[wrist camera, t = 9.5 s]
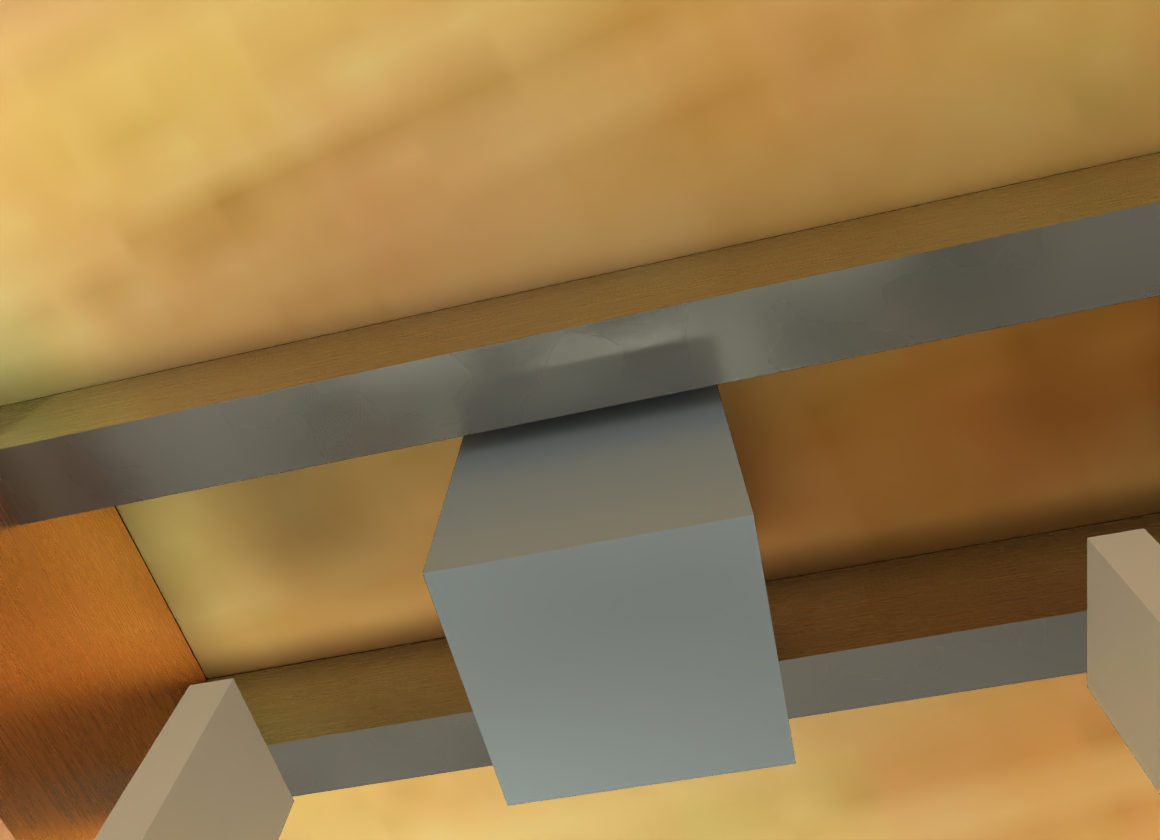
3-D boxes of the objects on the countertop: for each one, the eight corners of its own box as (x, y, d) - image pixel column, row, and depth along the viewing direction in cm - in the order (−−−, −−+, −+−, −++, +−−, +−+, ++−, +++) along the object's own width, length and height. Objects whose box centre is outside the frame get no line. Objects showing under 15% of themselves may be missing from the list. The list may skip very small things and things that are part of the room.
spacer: (706, 348, 17) (753, 514, 12) (741, 544, 19) (795, 763, 14) (476, 394, 18) (422, 573, 13) (533, 581, 20) (507, 805, 15)
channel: (2042, -42, 14) (2939, -53, 9) (1834, 458, 18) (2367, 665, 12) (-123, 433, 19) (-419, 620, 13) (80, 752, 22) (-86, 998, 17)
